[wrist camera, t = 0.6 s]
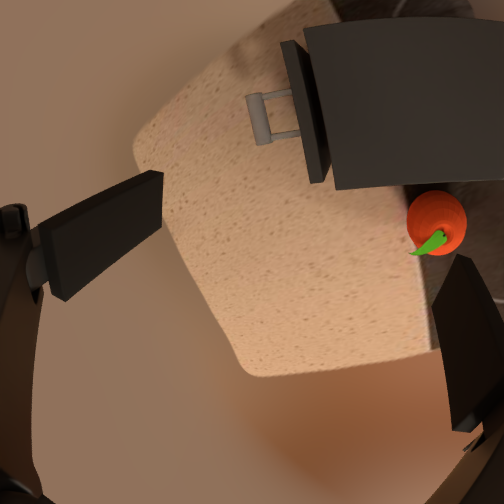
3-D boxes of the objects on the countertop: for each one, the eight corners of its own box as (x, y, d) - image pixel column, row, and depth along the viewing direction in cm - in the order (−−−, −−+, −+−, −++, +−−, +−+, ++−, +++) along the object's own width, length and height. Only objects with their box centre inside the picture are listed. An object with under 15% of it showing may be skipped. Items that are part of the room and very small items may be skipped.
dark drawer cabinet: (341, 165, 34) (335, 191, 26) (318, 48, 29) (302, 28, 20) (486, 156, 28) (526, 179, 19) (469, 39, 23) (506, 22, 14)
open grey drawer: (277, 170, 36) (254, 190, 29) (254, 65, 31) (223, 57, 24) (463, 153, 28) (493, 170, 21) (446, 42, 23) (472, 27, 16)
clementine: (421, 255, 36) (430, 286, 30) (384, 216, 35) (389, 242, 29) (467, 213, 32) (486, 237, 26) (432, 170, 31) (448, 187, 25)
